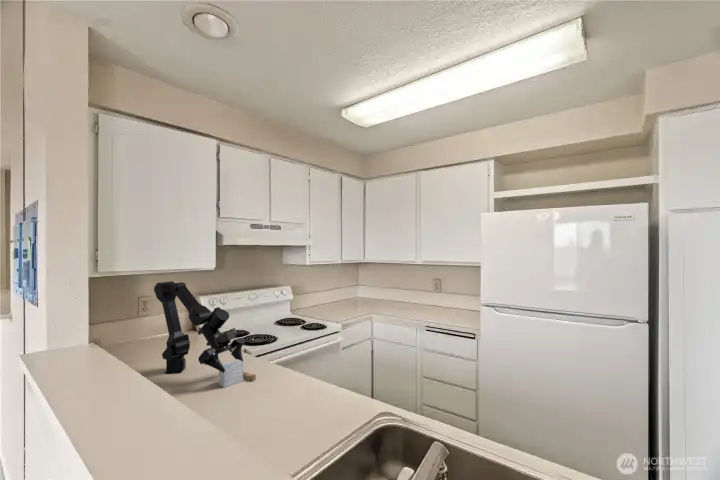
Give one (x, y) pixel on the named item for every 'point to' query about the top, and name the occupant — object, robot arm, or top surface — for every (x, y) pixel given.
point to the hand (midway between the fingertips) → (233, 367)
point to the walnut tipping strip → (249, 376)
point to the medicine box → (231, 373)
